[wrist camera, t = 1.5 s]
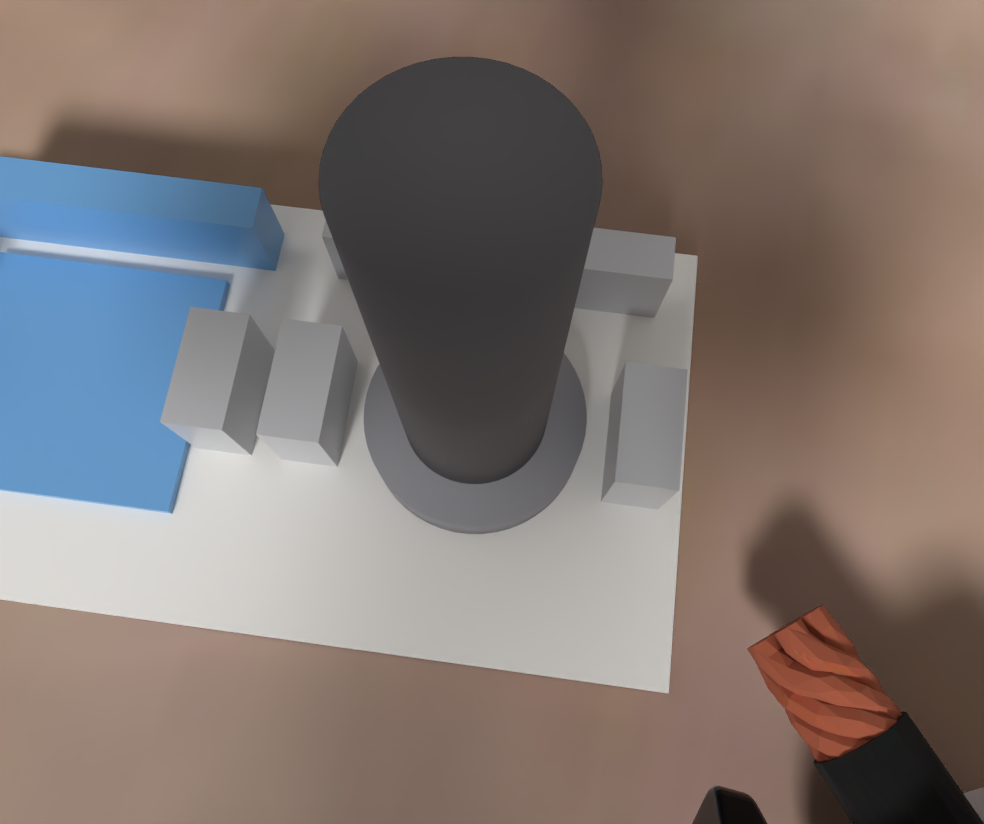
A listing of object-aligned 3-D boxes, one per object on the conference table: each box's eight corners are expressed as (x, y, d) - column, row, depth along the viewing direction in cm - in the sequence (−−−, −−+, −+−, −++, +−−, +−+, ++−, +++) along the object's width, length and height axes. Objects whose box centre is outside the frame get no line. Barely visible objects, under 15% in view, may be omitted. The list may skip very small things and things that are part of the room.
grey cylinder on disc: (484, 579, 21) (479, 479, 9) (328, 439, 22) (147, 191, 10) (622, 420, 22) (770, 156, 10) (467, 295, 23) (445, -70, 11)
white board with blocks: (687, 274, 24) (721, 209, 21) (658, 691, 21) (693, 697, 17) (-18, 188, 25) (-102, 112, 22) (-159, 576, 22) (-285, 560, 18)
